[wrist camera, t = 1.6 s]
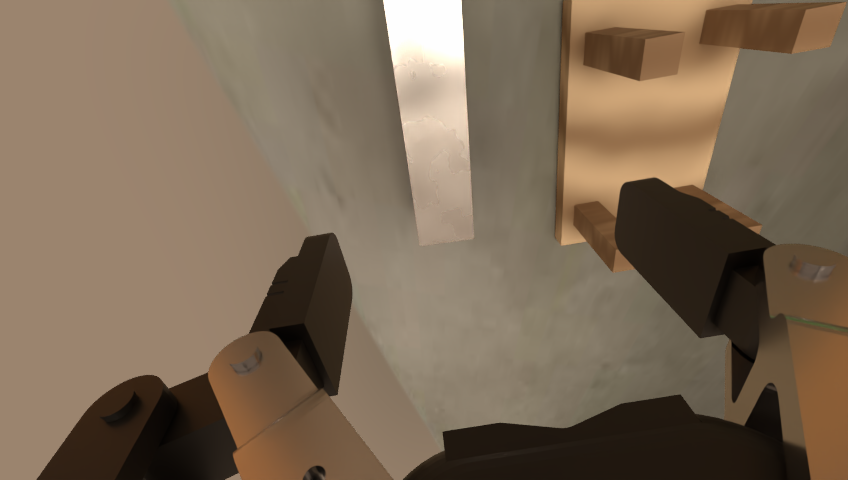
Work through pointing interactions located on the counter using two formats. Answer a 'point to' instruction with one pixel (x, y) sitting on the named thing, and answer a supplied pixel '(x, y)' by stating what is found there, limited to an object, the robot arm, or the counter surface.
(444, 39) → the pale beige plank
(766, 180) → the counter surface
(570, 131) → the rack
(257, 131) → the counter surface
